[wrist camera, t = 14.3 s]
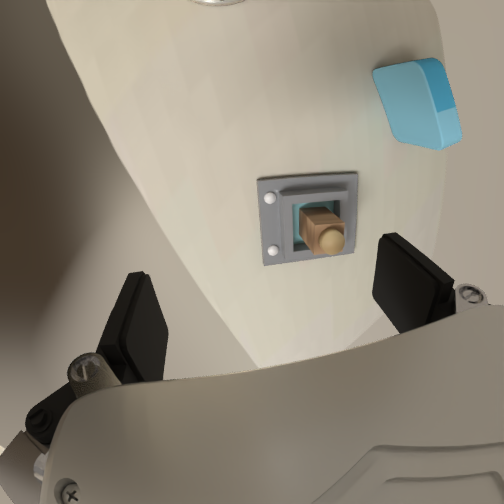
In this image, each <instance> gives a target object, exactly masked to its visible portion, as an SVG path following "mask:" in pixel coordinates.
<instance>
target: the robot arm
mask: <svg viewBox="0 0 504 504" xmlns="http://www.w3.org/2000/svg"><path fill="white" fill-rule="evenodd" d="M191 1H193V2H196V3H199V4H203V5H210V6H225V5H231V4H235V3H239V2H242V1H244V0H223V1H221V0H191ZM453 284H454V279H452V278H451V277H450V276H449V275H448V274H447V273H446V272H444V271H443V270H442V269H441V268H439V266H437V265H436V264H435V263H434V262H433V261H431V260H430V259H429V258H428V257H427V256H425V255H424V254H423V253H422V252H420V251H419V250H418V249H417V248H415V247H414V246H413V245H412V244H410V243H409V242H408V241H407V240H405V239H404V238H403V237H401V236H400V235H399V234H397V233H396V232H394V233H388V234H383V235H382V238H380V239H379V243H378V252H377V261H376V268H375V276H374V283H373V290H372V295H373V298H374V300H375V301H376V302H377V304H378V305H379V306H380V308H381V309H382V310H383V312H384V313H385V314H386V315H387V317H388V318H389V319H390V321H391V322H392V324H393V325H394V326H395V328H396V329H397V330H398V332H399V333H400V334H398V335H395V336H392V337H389V338H385V339H382V340H378V341H376V342H372V343H368V344H365V345H361V346H357V347H354V348H350V349H346V350H343V351H339V352H335V353H331V354H327V355H322V356H318V357H314V358H309V359H305V360H300V361H295V362H291V363H286V364H280V365H275V366H270V367H264V368H259V369H253V370H247V371H240V372H234V373H227V374H220V375H211V376H203V377H194V378H184V379H171V380H163V373H164V365H165V356H166V349H167V342H168V328H167V325H166V322H165V319H164V317H163V314H162V311H161V308H160V305H159V302H158V300H157V297H156V294H155V291H154V288H153V285H152V282H151V279H150V276H149V275H148V274H145V273H144V272H143V271H141V272H134V273H129V274H128V276H127V278H126V280H125V283H124V285H123V287H122V289H121V292H120V294H119V296H118V299H117V301H116V303H115V306H114V308H113V310H112V311H111V314H110V316H109V319H108V321H107V324H106V326H105V329H104V331H103V334H102V337H101V339H100V342H99V345H98V347H97V350H96V353H94V352H89V353H84V354H82V355H80V356H78V357H77V358H75V359H74V360H73V361H72V362H71V364H70V365H69V367H68V370H67V377H68V380H69V382H68V383H67V384H65V385H64V386H62V387H61V388H60V389H58V390H57V391H55V392H54V393H53V394H51V395H50V396H48V397H47V398H45V399H44V400H42V401H41V402H40V403H38V404H37V405H35V406H34V407H33V408H32V409H31V410H30V411H29V413H28V414H27V417H26V422H25V426H26V431H25V432H23V431H22V430H21V431H20V432H19V433H18V434H17V435H16V437H15V438H14V439H13V441H12V442H11V443H10V444H9V445H8V446H7V448H6V449H5V450H4V451H3V453H2V454H1V455H0V485H1V486H2V488H3V489H4V491H5V492H6V494H7V495H8V496H9V498H10V499H11V500H12V502H13V503H14V504H504V306H503V305H491V304H488V301H487V297H486V295H485V293H484V292H483V291H482V290H481V289H480V288H478V287H476V286H475V285H471V284H460V285H458V286H457V288H456V289H455V290H454V289H453V288H452V287H453Z"/></svg>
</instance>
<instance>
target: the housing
mask: <svg viewBox="0 0 504 504" xmlns="http://www.w3.org/2000/svg"><path fill="white" fill-rule="evenodd" d="M357 188H358V174H356V173H343V174H324V175H308V176H294V177H282V178H271V179H260V180H257V191H258V204H259V217H260V230H261V243H262V257H263V264H264V266H267V265H275V264H282V263H289V262H296V261H303V260H310V259H317V258H324V257H331V256H338V255H345V254H351V253H354V246H355V232H356V215H357ZM310 207H326V208H328V209H329V210H330V211H331V212H332V213H334V214H335V215H336V216H337V217H339V218H340V219H341V220H342V221H343V222H345V227H344V238H345V245H344V247H343V252H339V253H337V254H335V255H329V254H327V253H326V254H318V255H314V254H313V253H312V252H311V250H310V249H309V247H308V246H307V245H306V243H305V242H304V241H303V239H302V238H301V236H300V235H299V208H310Z"/></svg>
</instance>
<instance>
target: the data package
mask: <svg viewBox="0 0 504 504" xmlns="http://www.w3.org/2000/svg"><path fill="white" fill-rule="evenodd" d="M373 79H374V82H375V85H376V87H377V90H378V92H379V95H380V98H381V100H382V103H383V106H384V109H385V112H386V115H387V118H388V121H389V124H390V127H391V130H392V133H393V135H394V137H395V138H396V139H397V140H398V141H399V142H403V143H408V144H413V145H417V146H422V147H426V148H430V149H434V150H442V149H444V148H446V147H449V146H451V145H453V144H455V143H458V142H459V141H460V140H461V139H462V131H461V126H460V122H459V117H458V113H457V109H456V105H455V102H454V98H453V95H452V91H451V88H450V84H449V81H448V78H447V75H446V72H445V69H444V67H443V65H442V64H441V62H440V61H438V60H437V59H435V58H427V59H421V60H415V61H409V62H404V63H399V64H394V65H390V66H385V67H381V68H377V69H375V70H374V71H373Z"/></svg>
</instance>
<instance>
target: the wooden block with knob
mask: <svg viewBox="0 0 504 504" xmlns="http://www.w3.org/2000/svg"><path fill="white" fill-rule="evenodd" d="M344 227H345V222H343V221H342V220H341V219H340V218H339V217H337V216H336V215H335V214H334V213H332V212H331V211H330V210H329V209H328V208H326V207H310V208H299V235H300V236H301V238H302V239H303V241H304V242H305V243H306V245H307V246H308V247H309V249H310V250H311V252H312V253H313V254H314V255H318V254H326V253H327V254H329V255H335V254H337V253H339V252H343V247H344V245H345V238H344Z"/></svg>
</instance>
